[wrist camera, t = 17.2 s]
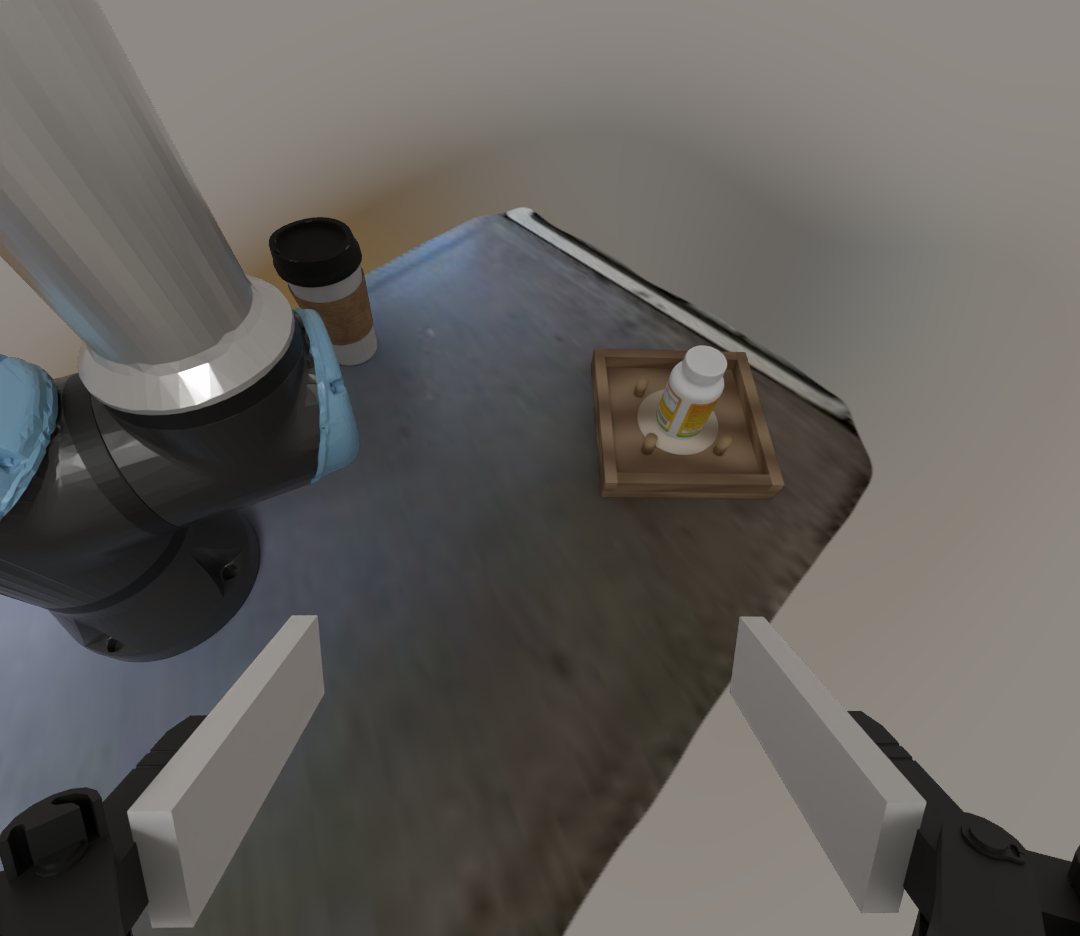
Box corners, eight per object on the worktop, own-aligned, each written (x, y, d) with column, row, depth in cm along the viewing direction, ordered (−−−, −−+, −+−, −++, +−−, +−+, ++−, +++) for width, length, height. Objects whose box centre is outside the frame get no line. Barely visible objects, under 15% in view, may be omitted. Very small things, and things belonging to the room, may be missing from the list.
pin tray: (771, 499, 53) (787, 482, 50) (601, 497, 52) (606, 479, 49) (735, 369, 62) (747, 348, 59) (590, 366, 62) (594, 345, 59)
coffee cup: (302, 348, 61) (246, 235, 48) (359, 313, 65) (321, 200, 52) (345, 385, 59) (297, 277, 46) (402, 347, 62) (372, 236, 49)
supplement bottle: (709, 414, 57) (742, 353, 49) (692, 449, 54) (724, 390, 46) (664, 395, 58) (689, 332, 50) (646, 428, 55) (669, 367, 47)
